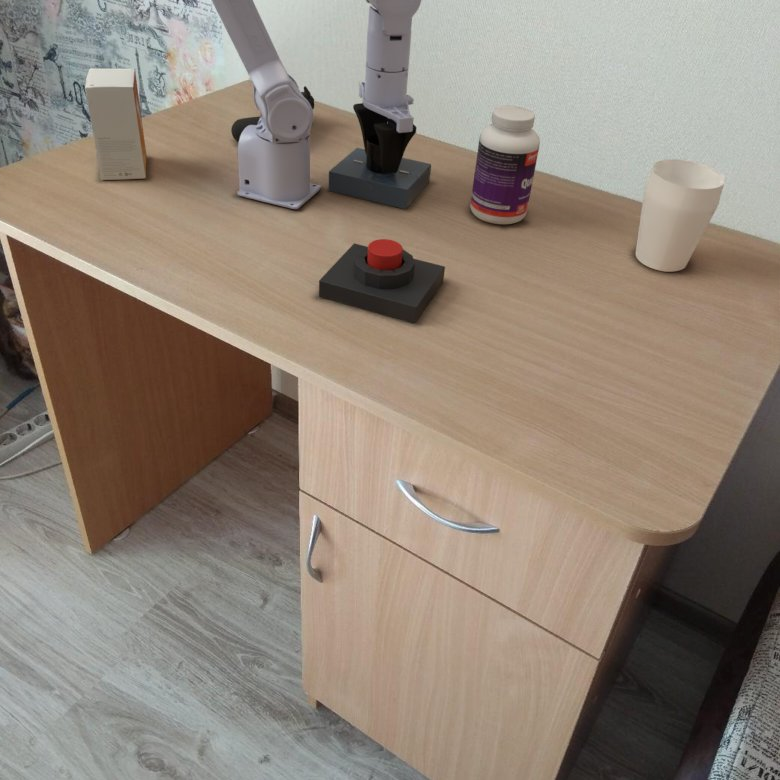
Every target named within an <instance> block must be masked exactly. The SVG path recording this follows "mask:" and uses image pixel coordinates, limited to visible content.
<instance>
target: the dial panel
mask: <svg viewBox="0 0 780 780" xmlns="http://www.w3.org/2000/svg"><path fill="white" fill-rule="evenodd" d="M431 169H432V164H431V163H428V162H424V161H419V160H414V159H412V158H411V159H410V158H405V157H402V160H401V163H400V166H399V169H398V171H397V173H389V174H384V173H375V172H372V171H370V170H368V169H367V168H366V153H365V148H362V147H361V148H360V147H356V148H355V149H353V151H351V152H349V154H348V155H346V156H345V157H343V158H342V159H341V160H340V161H339V162H338V163H337V164H336V165H335V166H333V167H332V168H331V169H330V170H329V171H328V192H332V193H336V194H340V195H344V196H347V197H353V198H357V199H360V200H366V201H369V202H373V203H379V204H383V205H386V206H391V207H395V208H398V209H402V210H407V209H408V207H410V205H411V204H412V203H413V202H414V201H415V200H416V199H417V198H418V196H419V195H420V194H421V193H422V191H424V190H425V188H426V187H427V186H428V185H429V184H430V180H431Z"/></svg>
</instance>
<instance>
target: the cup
mask: <svg viewBox="0 0 780 780" xmlns="http://www.w3.org/2000/svg"><path fill="white" fill-rule="evenodd" d="M725 183H726V179H725V176H724V175H723V174H722V173H721V172H720V171H718V170H717V169H715V168H713V167H711V166H709V165H706V164H703V163H700V162H698V161H692V160H688V159H687V160H686V159H677V158H676V159H675V158H671V159H669V158H668V159H662V160H659V161H656V162H655V163H654V164H653V165H652V168H651V170H650V173H649V176H648V178H647V181H646V183H645V187H644V191H643V197H642V203H641V210H640V218H639V225H638V226H639V227H638V233H637V239H636V240H637V241H636V247H635V257H636V259H637V260H638V261H639V262H640V264H642V265H644V266H646V267H647V268H649V269H652V270H655V271H659V272H665V273H666V272H669V273H670V272H671V273H672V272H679V271H682V270H683V269H685V268H686V267H687V266H688V263H689V262H690V259H691V258H692V256H693V254H694V252H695V250H696V249H697V247H698V244H699V243H700V241H701V239H702V237H703V235H704V233H705V232H706V229H707V228H708V226H709V224H710V222H711V220H712V218H713V216H714V215H715V213H716V211H717V209H718V206H719V204H720V200H721V195H722V193H723V189H724V186H725Z"/></svg>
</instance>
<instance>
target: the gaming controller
mask: <svg viewBox="0 0 780 780" xmlns="http://www.w3.org/2000/svg"><path fill="white" fill-rule="evenodd" d="M300 92H301V93H302V95H303V96H304V98H306V99H307V100H308V102H309V103H310V105H311V107H312V110H313V111H314V109H315V98H314V97H313V96H312V94H311V91H310V90H309V89H308V87H307V86H306V85H305V86H303V91H300ZM261 116H262V115H260V116H250V117H244V118H238V119H237V120H235V121H234V122H233V123H232V124H231V125H232V126H231V128H230V130H231V136H232V138H233V139H234V140H235V142H237V143H239V139H240V136H241V133H242V132H243V130H244V129H245V128H246V127H247V126H249V125H257V124H258V121H259V119H260V117H261Z"/></svg>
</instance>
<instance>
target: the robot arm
mask: <svg viewBox="0 0 780 780" xmlns="http://www.w3.org/2000/svg"><path fill="white" fill-rule="evenodd" d="M211 2H212V4H213V6H214V9H215V10H216V13H217V14H218V17H219V18H220V20H221V23H222V24H223V26H224V28H225V30H226V32H227V35H228V37H229V39H230V40H231V42H232V45H233V46H234V48H235V51H236V52H237V54H238V57H239V58H240V61H241V63H242V65H243V67H244V68H245V71H246V72H247V73H246V74H247V75H248V76H249V79H250V81H251V84H252V89H253V90H252V91H253V92H252V93H253V94H252V97H253V102H254V105H255V107H256V108H257V110H258V111H259V113H260V116H261V117H260V116H259V117H260V119H259V121H258V124H257V125H249V126H247V127H246V128H245V129H244V130H243V132H242V133H241V136H240V139H239V142H237V143H238V144H237V162H238V178H239V179H238V181H239V190H237V191H236V193H237V196H239V197H243V198H246V199H251V200H254V201H259V202H262V203H267V204H271V205H275V206H279V207H282V208H286V209H291V210H299V209H300V208H301V207H302V206H303V205H305V204H306V203H307V202H308V201H309V200H310V199H311V198H312V197H313V196H315V195H316V194H317V193H318V192H319V191H321V190H322V186H321V185H320V184H317V183H312V182H311V128H312V126H313V122H314V109H313V110H312V107H311V105H310V103H309V102H308V100H307V99H306V98H304V96H303V95H302V93H301V92H302V91H301V90H300V87H299V86H298V83H297V81H296V80H295V78H293V77H292V76H291V74H289V73H288V72H287V70H286V68H285V66H284V64H283V62H282V60H281V59H280V55H279V54H278V51H277V50H276V47H275V45H274V43H273V41H272V38H271V36H270V34H269V32H268V30H267V28H266V25H265V24H264V22H263V19H262V17H261V15H260V13H259V10H258V8H257V6H256V4H255V2H254V0H211ZM365 2H366V3H368V4H370V5H369V6H368V22H367V23H368V24H367V33H366V52H365V53H366V54H365V56H366V57H365V74H364V75H365V77H364V81H360V82H359V83H358V97H359V98H361V99H362V102H361V103H360V102H359V103H355V104H353V105H352V106H353V111H354V114H355V115H356V118H357V121H358V124H359V127H360V130H361V137H362V142H363V147H364V148H363V149H365V153H366V154H367V139H368V137H370V136H372V135H377V136H378V140H379V144H380V154H381V168H382V172H383V173H384V174H389V173H397V171H398V169H399V166H400V163H401V160H402V158H404V157H403V156H404V155H405V151H406V149H407V147H408V144H409V143H410V141H411V140H412V139H413V137H414V136H415V135H416V133H417V126H416V125H415V124H414V116H413V115H412V114H411V110H410V107H409V106H410V105H414V101H415V100H414V98H413V96H411V95H409V94H407V93H408V81H409V70H410V69H409V68H410V55H411V43H412V27H413V26H412V25H413V18H414V16H415V15H416V13H417V12H418V10H419V8H420V6H421V4H422V0H365Z"/></svg>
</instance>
